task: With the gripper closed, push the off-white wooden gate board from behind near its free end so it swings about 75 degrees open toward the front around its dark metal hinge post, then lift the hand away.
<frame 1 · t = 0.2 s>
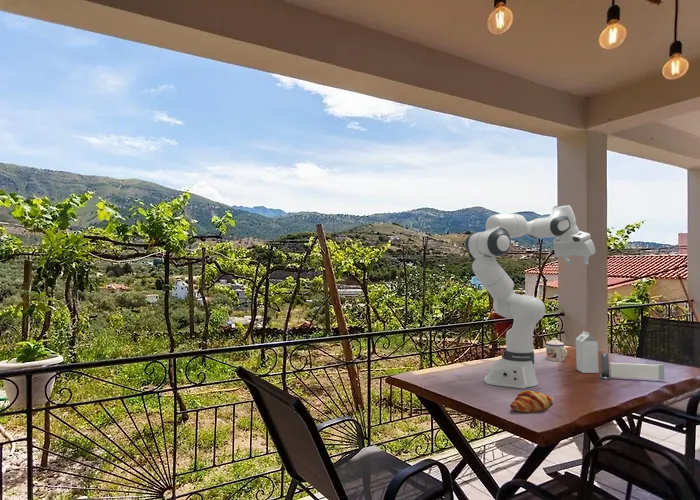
hand: (577, 264, 202), 52 cm above the table, tool tilted 20°, fingers open, 8 cm apart
hinge post: (605, 378, 191), on the table
gate: (636, 370, 187), point 4 cm above the table, hinge at 0.0°
milk carton: (587, 371, 203), on the table
croissant: (533, 409, 155), on the table
teacup with lid: (557, 360, 226), on the table
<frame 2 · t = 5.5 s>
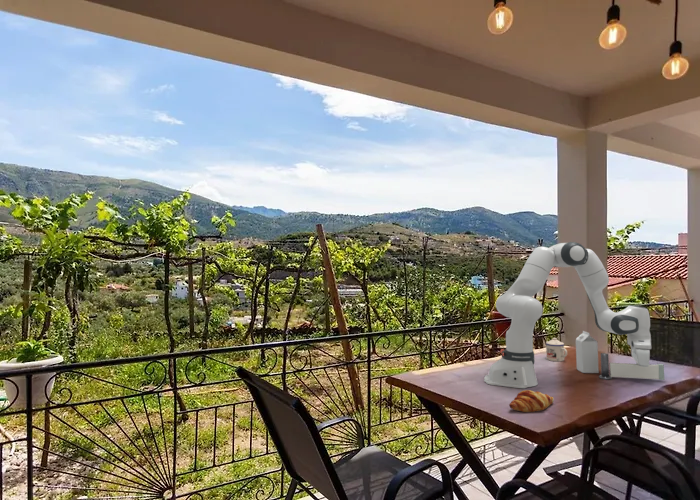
hand: (640, 372, 189), 3 cm above the table, tool pointing down, fingers closed
gate: (636, 370, 187), point 4 cm above the table, hinge at 0.0°, touching gripper
everything else where it was.
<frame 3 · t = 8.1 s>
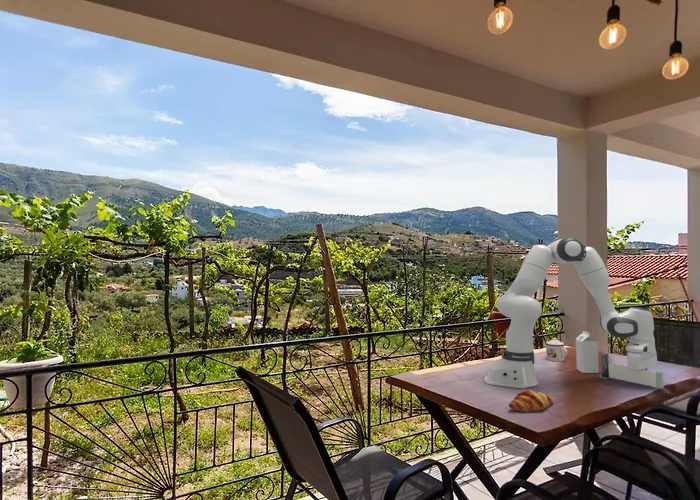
hand: (643, 377, 180), 3 cm above the table, tool pointing down, fingers closed
gate: (634, 374, 180), point 4 cm above the table, hinge at -40.0°, touching gripper
everything else where it was.
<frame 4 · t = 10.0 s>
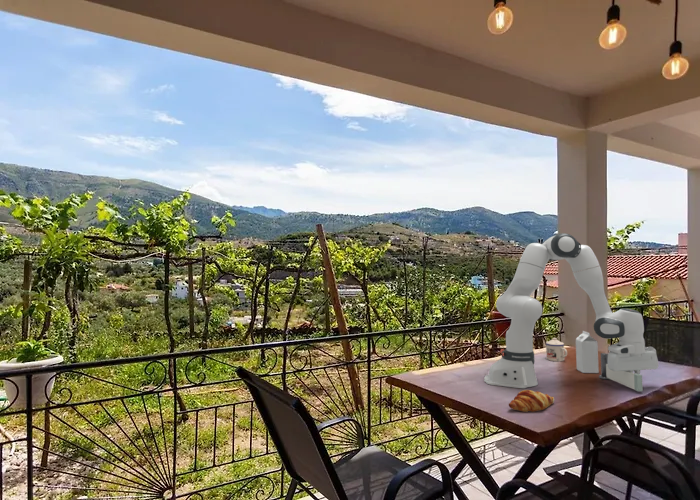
hand: (633, 380, 176), 3 cm above the table, tool pointing down, fingers closed
gate: (622, 376, 179), point 4 cm above the table, hinge at -71.0°, touching gripper
everything else where it was.
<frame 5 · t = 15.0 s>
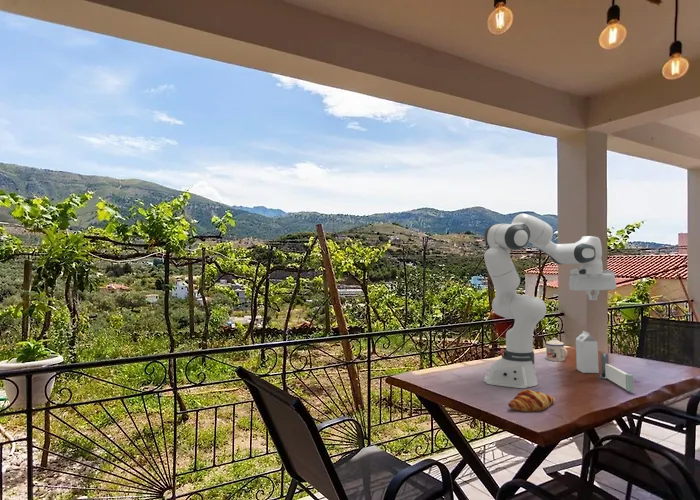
hand: (593, 299, 196), 35 cm above the table, tool pointing down, fingers closed
gate: (618, 376, 179), point 4 cm above the table, hinge at -80.0°
everything else where it was.
at the end: gate at -80° (first picture: +0°); milk carton moved 0.2 cm from its start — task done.
